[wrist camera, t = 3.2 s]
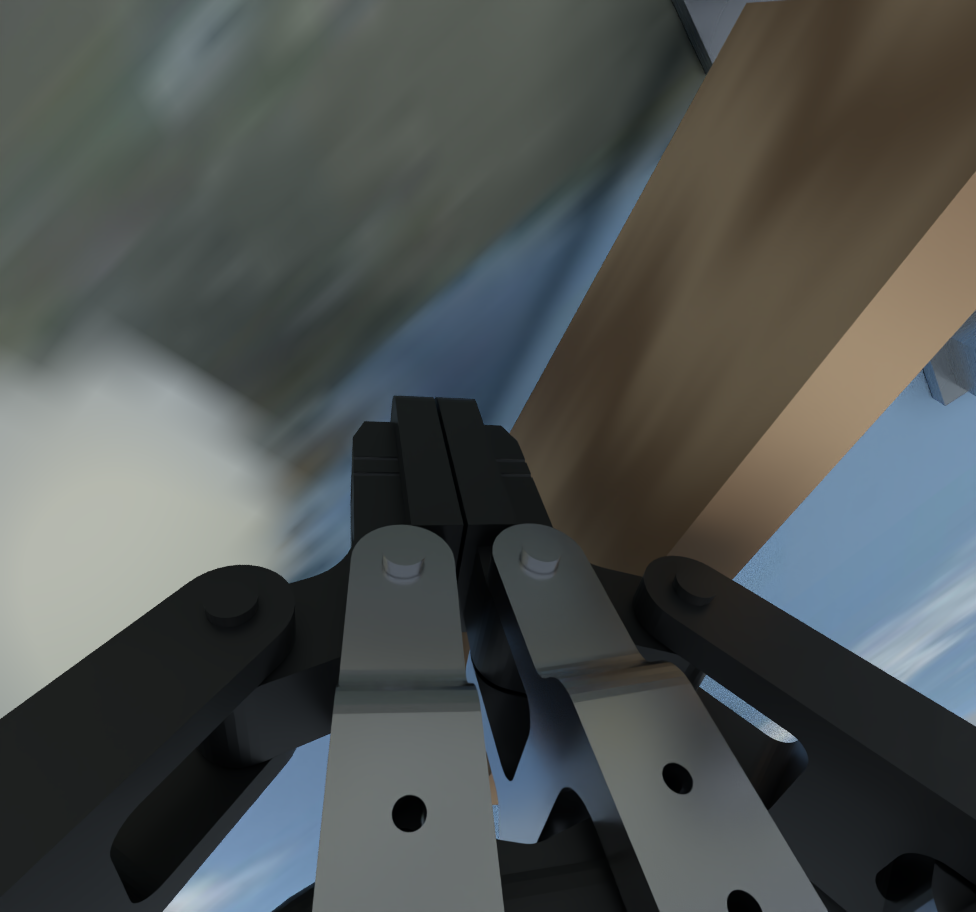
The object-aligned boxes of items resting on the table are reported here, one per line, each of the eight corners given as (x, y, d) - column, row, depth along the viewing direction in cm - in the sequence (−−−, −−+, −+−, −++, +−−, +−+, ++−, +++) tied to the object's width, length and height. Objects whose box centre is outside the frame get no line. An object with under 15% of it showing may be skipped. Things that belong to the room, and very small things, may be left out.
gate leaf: (662, -2, 14) (1113, -48, 6) (736, 51, 15) (1216, 79, 6) (411, 508, 21) (450, 804, 13) (472, 522, 22) (542, 805, 14)
